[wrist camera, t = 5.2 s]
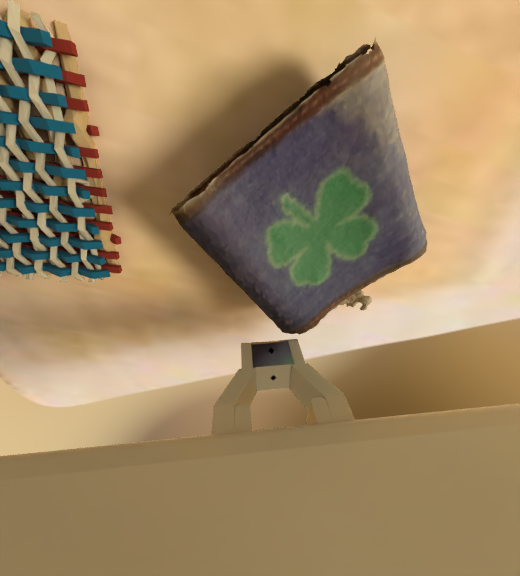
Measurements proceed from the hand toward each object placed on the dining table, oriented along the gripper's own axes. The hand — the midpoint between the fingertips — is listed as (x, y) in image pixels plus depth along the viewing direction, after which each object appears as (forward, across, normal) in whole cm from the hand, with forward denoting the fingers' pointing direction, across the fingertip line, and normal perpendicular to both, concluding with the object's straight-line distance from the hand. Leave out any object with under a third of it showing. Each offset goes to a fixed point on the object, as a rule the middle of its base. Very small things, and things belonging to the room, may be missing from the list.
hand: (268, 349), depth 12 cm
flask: (+5, 0, -9) cm, 10 cm away
